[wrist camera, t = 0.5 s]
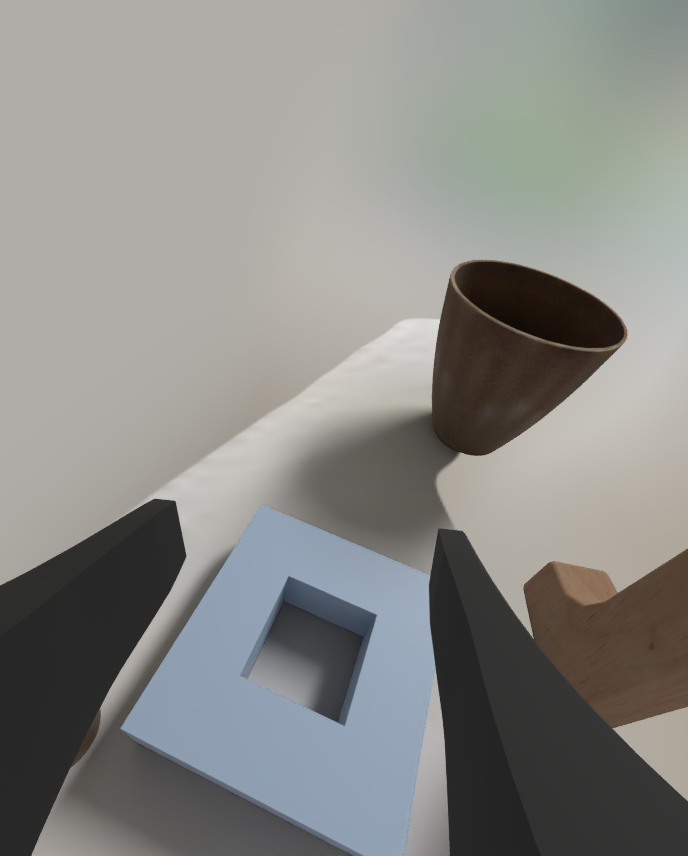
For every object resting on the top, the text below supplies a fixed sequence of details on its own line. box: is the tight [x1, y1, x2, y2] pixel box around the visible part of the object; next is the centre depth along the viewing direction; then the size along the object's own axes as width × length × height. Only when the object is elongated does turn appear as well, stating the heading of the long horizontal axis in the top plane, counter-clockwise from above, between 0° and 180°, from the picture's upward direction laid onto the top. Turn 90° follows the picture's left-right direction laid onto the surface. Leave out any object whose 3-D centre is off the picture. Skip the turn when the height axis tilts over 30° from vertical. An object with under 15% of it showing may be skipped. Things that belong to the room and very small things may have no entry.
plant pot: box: [432, 260, 627, 456], centre depth 39 cm, size 15×15×16 cm
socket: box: [120, 505, 435, 856], centre depth 25 cm, size 14×14×4 cm
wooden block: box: [524, 549, 688, 728], centre depth 23 cm, size 9×4×18 cm, turn 173°
